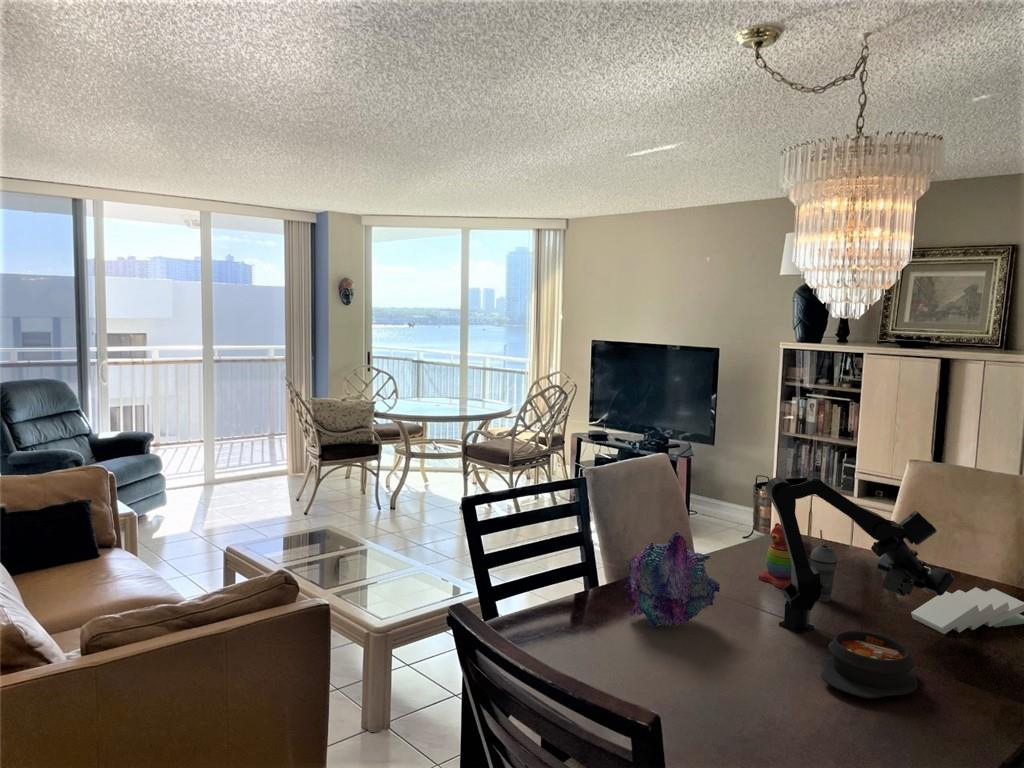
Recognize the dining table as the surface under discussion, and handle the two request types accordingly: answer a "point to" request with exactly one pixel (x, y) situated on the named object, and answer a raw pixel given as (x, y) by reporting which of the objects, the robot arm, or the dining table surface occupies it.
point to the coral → (669, 583)
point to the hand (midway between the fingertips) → (929, 591)
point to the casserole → (869, 665)
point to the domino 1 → (945, 612)
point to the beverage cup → (824, 568)
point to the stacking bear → (777, 560)
